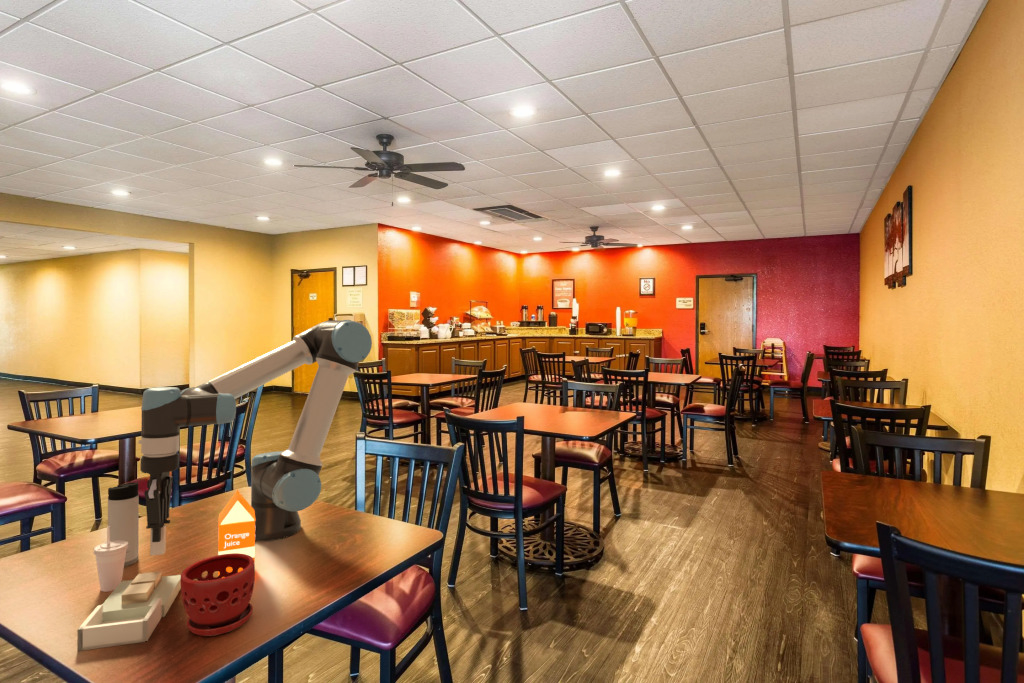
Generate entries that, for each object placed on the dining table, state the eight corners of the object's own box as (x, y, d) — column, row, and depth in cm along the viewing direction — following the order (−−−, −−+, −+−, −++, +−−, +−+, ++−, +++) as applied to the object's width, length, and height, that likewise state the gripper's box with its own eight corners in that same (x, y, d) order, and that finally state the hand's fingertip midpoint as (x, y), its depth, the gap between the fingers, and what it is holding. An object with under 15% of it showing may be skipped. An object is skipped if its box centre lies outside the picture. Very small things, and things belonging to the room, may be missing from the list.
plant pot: (233, 601, 118) (233, 546, 117) (267, 620, 110) (267, 562, 110) (167, 627, 107) (168, 567, 107) (200, 651, 100) (201, 587, 99)
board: (182, 585, 124) (182, 574, 124) (164, 616, 111) (164, 604, 111) (121, 592, 120) (121, 581, 120) (95, 625, 107) (95, 613, 107)
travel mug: (123, 569, 131) (123, 488, 131) (101, 566, 133) (101, 486, 132) (145, 558, 138) (146, 481, 137) (124, 556, 139) (124, 479, 138)
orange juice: (217, 589, 123) (218, 502, 122) (218, 573, 131) (218, 491, 130) (255, 582, 126) (256, 497, 126) (254, 567, 134) (254, 487, 134)
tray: (161, 617, 111) (161, 597, 111) (147, 641, 102) (147, 620, 102) (97, 625, 107) (98, 605, 107) (77, 651, 99) (77, 629, 99)
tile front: (153, 591, 116) (153, 582, 116) (146, 601, 112) (147, 592, 112) (129, 594, 115) (129, 585, 115) (121, 604, 110) (121, 595, 110)
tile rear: (161, 580, 121) (161, 571, 121) (155, 589, 117) (155, 580, 117) (138, 582, 120) (138, 573, 120) (131, 592, 116) (131, 582, 116)
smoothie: (105, 581, 125) (105, 521, 125) (134, 580, 126) (134, 521, 126) (86, 595, 119) (86, 532, 119) (116, 594, 120) (117, 531, 119)
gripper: (150, 448, 131) (148, 544, 132) (131, 460, 119) (129, 567, 119) (185, 447, 134) (183, 541, 134) (170, 459, 121) (167, 563, 122)
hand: (157, 553), depth 127 cm, fingers closed
